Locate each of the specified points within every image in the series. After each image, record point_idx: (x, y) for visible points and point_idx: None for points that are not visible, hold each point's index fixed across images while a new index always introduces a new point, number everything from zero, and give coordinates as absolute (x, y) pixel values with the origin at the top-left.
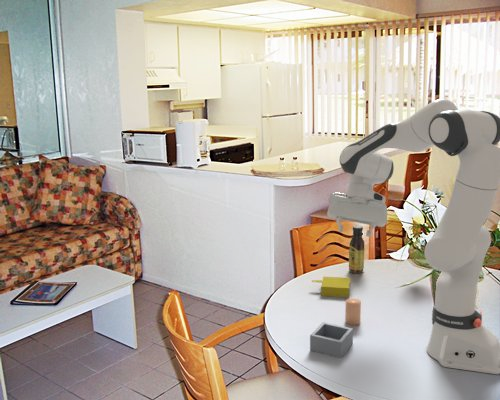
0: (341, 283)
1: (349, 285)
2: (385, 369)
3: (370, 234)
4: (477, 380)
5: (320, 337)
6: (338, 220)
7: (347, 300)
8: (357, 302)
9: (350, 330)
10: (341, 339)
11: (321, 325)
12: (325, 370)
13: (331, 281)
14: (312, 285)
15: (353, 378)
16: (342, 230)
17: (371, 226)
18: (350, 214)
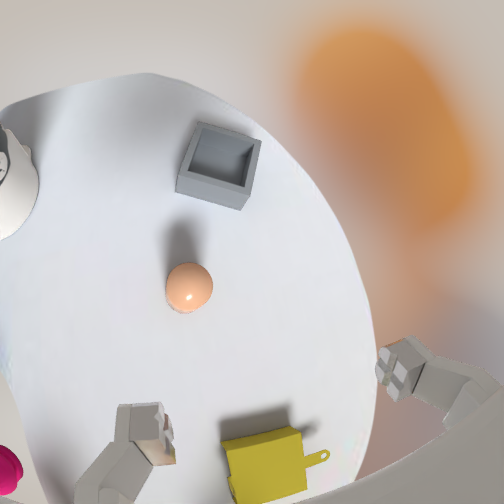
0: (253, 472)
1: (233, 498)
2: (119, 121)
3: (123, 406)
4: None
5: (240, 134)
6: (472, 371)
7: (208, 289)
8: (176, 281)
9: (183, 165)
10: (199, 130)
11: (249, 179)
12: (215, 108)
13: (282, 473)
14: (319, 467)
15: (171, 96)
16: (385, 346)
17: (126, 499)
18: (453, 471)
